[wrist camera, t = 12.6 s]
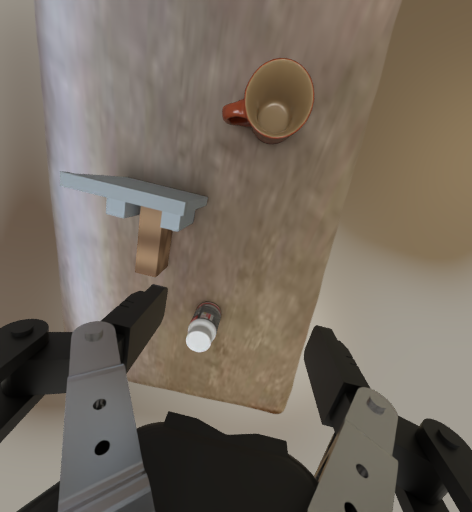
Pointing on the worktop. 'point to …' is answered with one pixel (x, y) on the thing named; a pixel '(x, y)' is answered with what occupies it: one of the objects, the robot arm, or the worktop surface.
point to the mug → (274, 101)
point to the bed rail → (152, 243)
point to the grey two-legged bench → (138, 197)
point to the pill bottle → (203, 327)
